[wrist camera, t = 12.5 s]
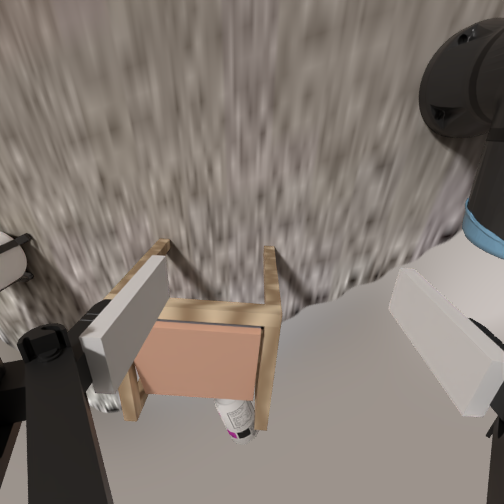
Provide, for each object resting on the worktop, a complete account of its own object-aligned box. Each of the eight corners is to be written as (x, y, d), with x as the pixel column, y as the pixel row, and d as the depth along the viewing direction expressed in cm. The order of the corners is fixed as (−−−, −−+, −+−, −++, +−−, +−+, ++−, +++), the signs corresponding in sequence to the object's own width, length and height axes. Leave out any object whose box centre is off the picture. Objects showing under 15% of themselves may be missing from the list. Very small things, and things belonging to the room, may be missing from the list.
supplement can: (227, 445, 69) (207, 407, 63) (235, 414, 77) (217, 377, 71) (257, 447, 67) (239, 407, 61) (262, 414, 74) (246, 376, 68)
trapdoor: (261, 319, 36) (260, 334, 34) (253, 386, 47) (252, 400, 45) (128, 309, 36) (120, 325, 34) (150, 378, 47) (145, 393, 45)
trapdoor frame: (274, 246, 54) (282, 314, 34) (264, 335, 64) (266, 430, 43) (159, 238, 54) (100, 302, 34) (167, 329, 64) (124, 420, 43)
